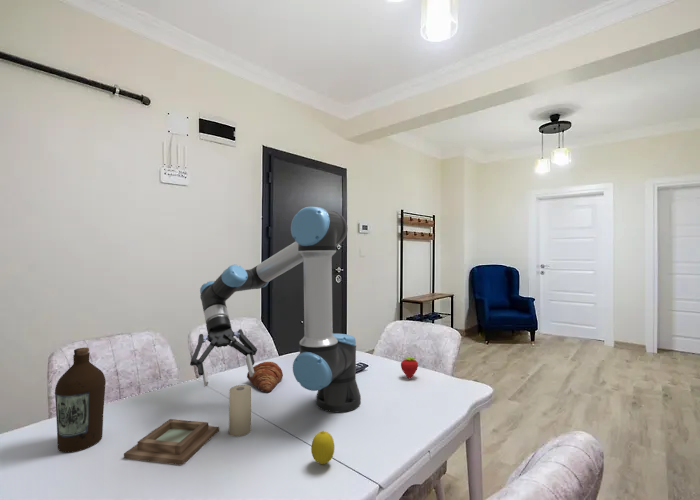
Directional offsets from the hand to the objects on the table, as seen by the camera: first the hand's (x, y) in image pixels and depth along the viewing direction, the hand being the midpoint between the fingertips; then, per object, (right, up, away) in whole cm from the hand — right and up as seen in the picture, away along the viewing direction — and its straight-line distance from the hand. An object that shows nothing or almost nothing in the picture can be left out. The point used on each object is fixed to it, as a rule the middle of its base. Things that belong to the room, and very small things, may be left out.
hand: (230, 379), depth 104 cm
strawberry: (+61, -13, +35) cm, 71 cm away
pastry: (+3, -13, +31) cm, 33 cm away
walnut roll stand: (-10, -12, -13) cm, 20 cm away
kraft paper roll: (+5, -12, -6) cm, 15 cm away
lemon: (+30, -12, -21) cm, 39 cm away
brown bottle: (-36, -12, -13) cm, 40 cm away
